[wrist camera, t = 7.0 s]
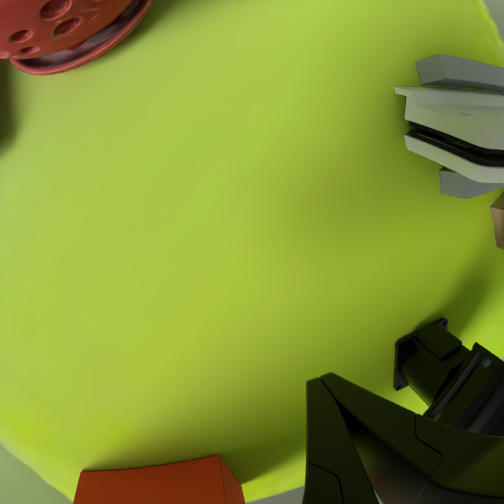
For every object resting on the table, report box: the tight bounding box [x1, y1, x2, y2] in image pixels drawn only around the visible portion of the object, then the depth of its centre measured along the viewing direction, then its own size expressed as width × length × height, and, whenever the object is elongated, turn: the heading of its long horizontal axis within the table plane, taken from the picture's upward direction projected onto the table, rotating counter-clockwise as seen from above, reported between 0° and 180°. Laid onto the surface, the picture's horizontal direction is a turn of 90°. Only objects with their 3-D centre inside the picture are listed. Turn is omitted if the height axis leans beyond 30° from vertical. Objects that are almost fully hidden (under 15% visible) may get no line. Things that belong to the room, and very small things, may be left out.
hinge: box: [395, 87, 504, 183], centre depth 16 cm, size 17×5×10 cm, turn 104°
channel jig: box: [415, 54, 504, 199], centre depth 18 cm, size 11×16×4 cm
